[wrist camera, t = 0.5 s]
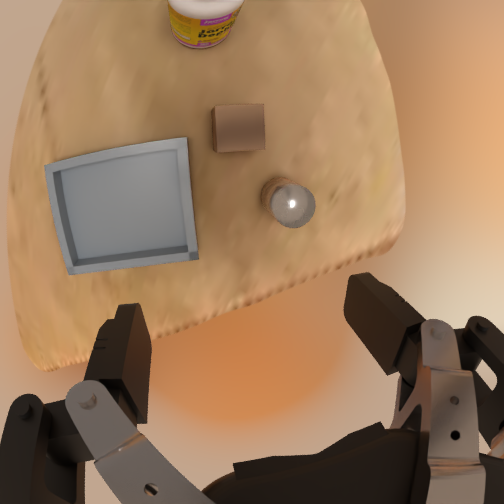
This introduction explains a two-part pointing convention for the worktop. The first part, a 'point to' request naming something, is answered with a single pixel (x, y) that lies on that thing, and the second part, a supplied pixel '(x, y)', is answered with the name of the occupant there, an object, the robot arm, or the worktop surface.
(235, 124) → the walnut block
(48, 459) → the robot arm
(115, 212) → the parts tray
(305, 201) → the grey rounded cylinder
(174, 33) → the supplement bottle
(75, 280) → the worktop surface
